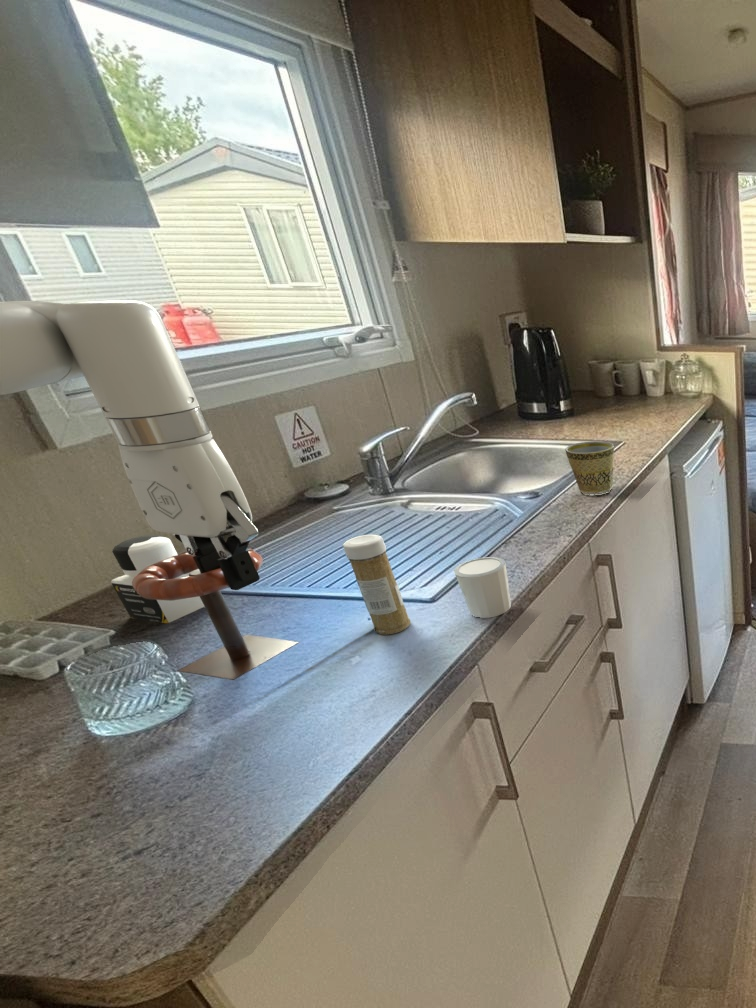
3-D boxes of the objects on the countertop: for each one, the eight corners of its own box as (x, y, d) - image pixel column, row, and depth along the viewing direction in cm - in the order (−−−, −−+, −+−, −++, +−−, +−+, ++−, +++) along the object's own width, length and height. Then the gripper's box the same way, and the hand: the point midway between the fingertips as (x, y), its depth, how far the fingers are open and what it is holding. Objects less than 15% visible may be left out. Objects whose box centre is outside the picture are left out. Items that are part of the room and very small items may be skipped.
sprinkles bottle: (417, 619, 94) (389, 533, 88) (400, 636, 90) (369, 546, 84) (386, 620, 94) (355, 533, 88) (367, 636, 90) (333, 546, 84)
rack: (180, 678, 82) (129, 584, 76) (249, 641, 90) (207, 553, 83) (237, 687, 80) (189, 591, 74) (302, 649, 88) (264, 559, 81)
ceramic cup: (614, 498, 140) (607, 452, 136) (567, 499, 140) (558, 453, 136) (627, 480, 152) (621, 437, 147) (584, 481, 152) (576, 438, 147)
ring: (111, 601, 75) (100, 582, 74) (207, 558, 85) (199, 541, 84) (201, 606, 73) (191, 587, 72) (288, 562, 83) (280, 544, 82)
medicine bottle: (133, 624, 94) (90, 548, 88) (185, 602, 100) (147, 528, 94) (171, 630, 92) (129, 552, 87) (221, 606, 99) (185, 532, 93)
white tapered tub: (467, 602, 99) (455, 560, 96) (515, 594, 101) (505, 553, 98) (464, 623, 93) (451, 579, 90) (515, 615, 95) (504, 571, 92)
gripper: (63, 433, 68) (148, 591, 77) (183, 441, 65) (258, 605, 73) (143, 418, 74) (213, 564, 83) (256, 423, 71) (317, 576, 80)
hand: (234, 582), depth 78 cm, fingers closed on ring, 2 cm apart
